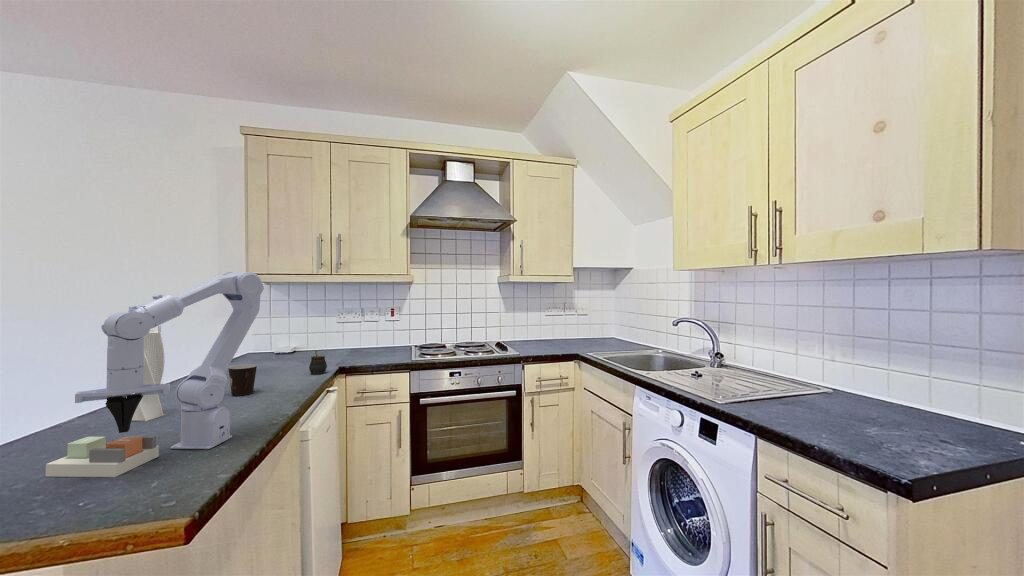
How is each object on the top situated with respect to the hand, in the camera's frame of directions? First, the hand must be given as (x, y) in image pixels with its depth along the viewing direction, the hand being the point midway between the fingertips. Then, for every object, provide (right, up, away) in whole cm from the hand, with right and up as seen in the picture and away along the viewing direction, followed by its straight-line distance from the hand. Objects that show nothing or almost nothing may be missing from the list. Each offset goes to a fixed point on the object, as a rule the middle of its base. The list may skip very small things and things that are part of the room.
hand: (124, 431), depth 86 cm
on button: (-8, -5, 0) cm, 10 cm away
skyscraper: (-24, -8, +32) cm, 41 cm away
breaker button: (0, -5, 0) cm, 5 cm away
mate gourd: (-5, -8, +96) cm, 97 cm away
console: (-4, -8, 0) cm, 8 cm away
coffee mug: (-14, -8, +58) cm, 60 cm away
